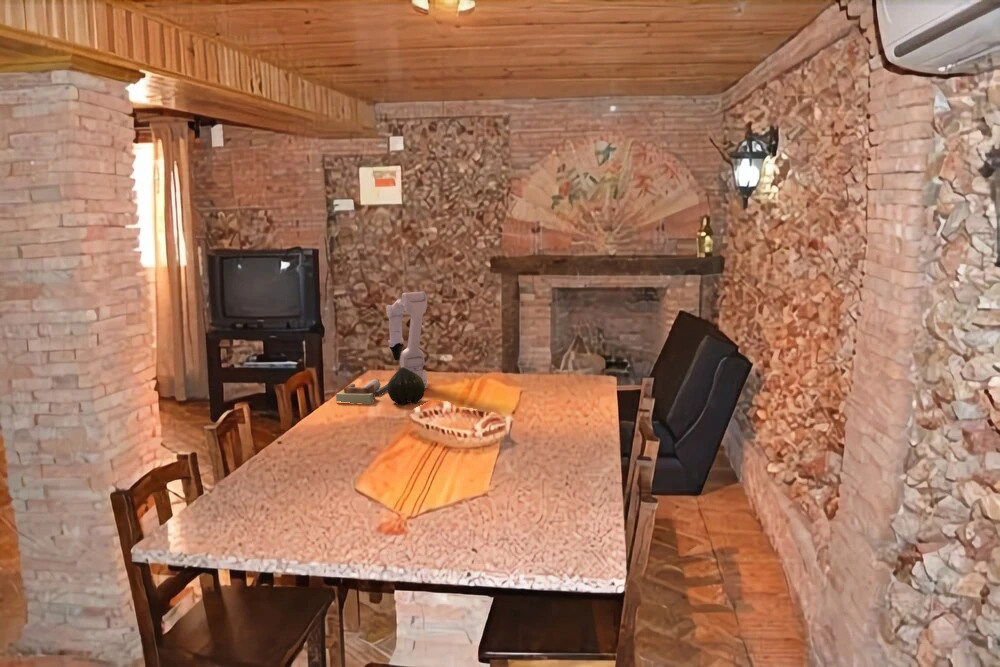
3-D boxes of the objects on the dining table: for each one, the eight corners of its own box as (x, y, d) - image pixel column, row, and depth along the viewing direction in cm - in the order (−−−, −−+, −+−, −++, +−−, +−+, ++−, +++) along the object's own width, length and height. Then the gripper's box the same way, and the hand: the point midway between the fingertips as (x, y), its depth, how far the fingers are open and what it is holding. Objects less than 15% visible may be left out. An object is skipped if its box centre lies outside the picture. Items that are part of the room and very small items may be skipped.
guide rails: (397, 384, 351) (397, 379, 351) (378, 396, 327) (378, 391, 327) (376, 383, 353) (375, 379, 353) (355, 395, 330) (355, 391, 329)
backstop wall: (373, 402, 315) (372, 393, 315) (370, 404, 313) (370, 394, 312) (339, 402, 319) (338, 392, 318) (336, 403, 316) (336, 394, 316)
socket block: (374, 398, 324) (373, 384, 323) (367, 402, 316) (366, 388, 315) (352, 397, 326) (351, 384, 325) (344, 402, 318) (343, 388, 317)
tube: (368, 380, 343) (351, 391, 319) (379, 376, 343) (363, 387, 318) (372, 391, 344) (356, 403, 319) (383, 387, 343) (368, 399, 318)
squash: (417, 395, 303) (421, 362, 312) (380, 396, 306) (385, 363, 314) (425, 411, 315) (429, 379, 323) (390, 412, 317) (395, 381, 326)
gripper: (392, 328, 360) (394, 357, 362) (381, 333, 346) (383, 362, 348) (407, 328, 358) (408, 357, 360) (396, 333, 344) (398, 363, 346)
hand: (397, 360), depth 354 cm, fingers closed
